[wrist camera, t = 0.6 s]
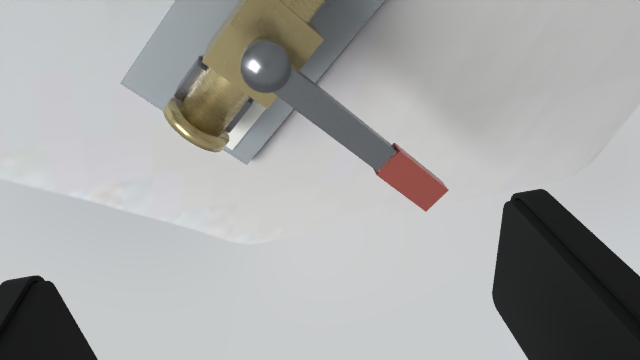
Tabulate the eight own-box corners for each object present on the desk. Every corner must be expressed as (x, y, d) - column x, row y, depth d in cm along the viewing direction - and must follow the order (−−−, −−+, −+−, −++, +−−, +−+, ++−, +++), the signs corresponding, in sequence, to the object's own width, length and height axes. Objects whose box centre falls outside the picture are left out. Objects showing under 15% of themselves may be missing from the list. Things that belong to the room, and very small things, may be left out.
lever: (231, 65, 26) (230, 72, 24) (260, 27, 25) (260, 32, 24) (416, 204, 32) (423, 214, 31) (444, 177, 32) (452, 187, 30)
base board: (278, -154, 29) (280, -157, 28) (400, -25, 34) (405, -24, 33) (123, 79, 35) (119, 84, 34) (246, 159, 40) (246, 165, 39)
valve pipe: (304, -93, 30) (324, -100, 22) (358, -39, 32) (393, -28, 25) (170, 93, 35) (149, 140, 27) (225, 130, 37) (219, 183, 30)
